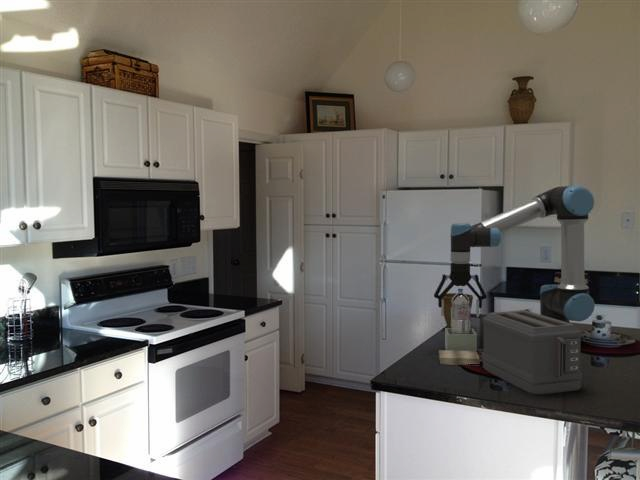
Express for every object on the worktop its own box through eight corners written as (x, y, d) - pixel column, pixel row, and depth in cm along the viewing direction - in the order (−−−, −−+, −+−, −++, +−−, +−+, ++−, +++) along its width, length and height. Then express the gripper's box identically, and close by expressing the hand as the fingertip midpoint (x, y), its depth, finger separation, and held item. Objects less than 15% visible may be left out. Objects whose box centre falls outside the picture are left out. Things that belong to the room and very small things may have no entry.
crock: (473, 348, 238) (473, 328, 237) (476, 355, 226) (476, 334, 226) (445, 347, 239) (445, 328, 239) (447, 354, 228) (447, 334, 227)
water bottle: (470, 349, 235) (470, 287, 233) (468, 354, 228) (468, 290, 227) (452, 348, 237) (452, 287, 235) (450, 352, 231) (450, 289, 229)
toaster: (537, 397, 178) (538, 331, 176) (479, 367, 210) (479, 311, 209) (589, 391, 183) (590, 327, 181) (524, 363, 215) (525, 308, 214)
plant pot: (476, 332, 264) (476, 297, 263) (443, 333, 265) (443, 298, 264) (468, 325, 279) (468, 292, 278) (437, 326, 280) (437, 292, 278)
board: (476, 357, 224) (476, 350, 224) (479, 365, 213) (479, 358, 213) (438, 356, 226) (438, 350, 225) (440, 364, 215) (440, 357, 215)
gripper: (491, 261, 232) (491, 314, 234) (427, 261, 236) (427, 313, 237) (494, 263, 225) (493, 318, 226) (428, 263, 228) (428, 317, 230)
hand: (459, 316), depth 232 cm, fingers open, 13 cm apart
